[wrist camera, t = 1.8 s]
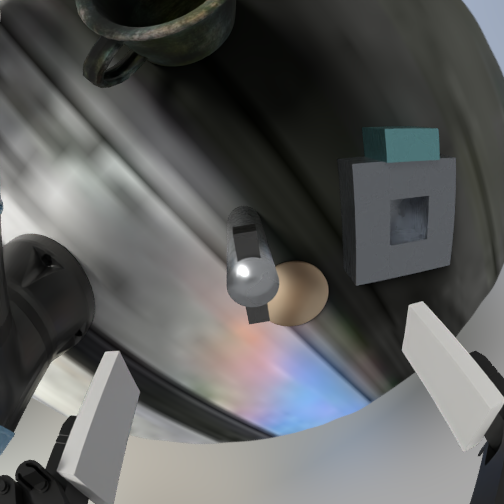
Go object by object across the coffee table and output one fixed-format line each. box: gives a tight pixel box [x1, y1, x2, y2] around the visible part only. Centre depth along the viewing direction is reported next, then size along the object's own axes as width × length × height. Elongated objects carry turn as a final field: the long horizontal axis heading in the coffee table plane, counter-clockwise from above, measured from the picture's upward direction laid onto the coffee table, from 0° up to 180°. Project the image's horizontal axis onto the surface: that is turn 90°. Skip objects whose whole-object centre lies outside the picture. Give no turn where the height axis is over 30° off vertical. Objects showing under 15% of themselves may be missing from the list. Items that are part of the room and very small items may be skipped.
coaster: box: [267, 261, 329, 326], centre depth 34 cm, size 8×8×1 cm
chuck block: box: [337, 126, 456, 286], centre depth 29 cm, size 12×15×5 cm
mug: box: [76, 0, 236, 88], centre depth 18 cm, size 11×15×12 cm
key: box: [227, 206, 279, 324], centre depth 25 cm, size 3×6×13 cm, turn 9°
